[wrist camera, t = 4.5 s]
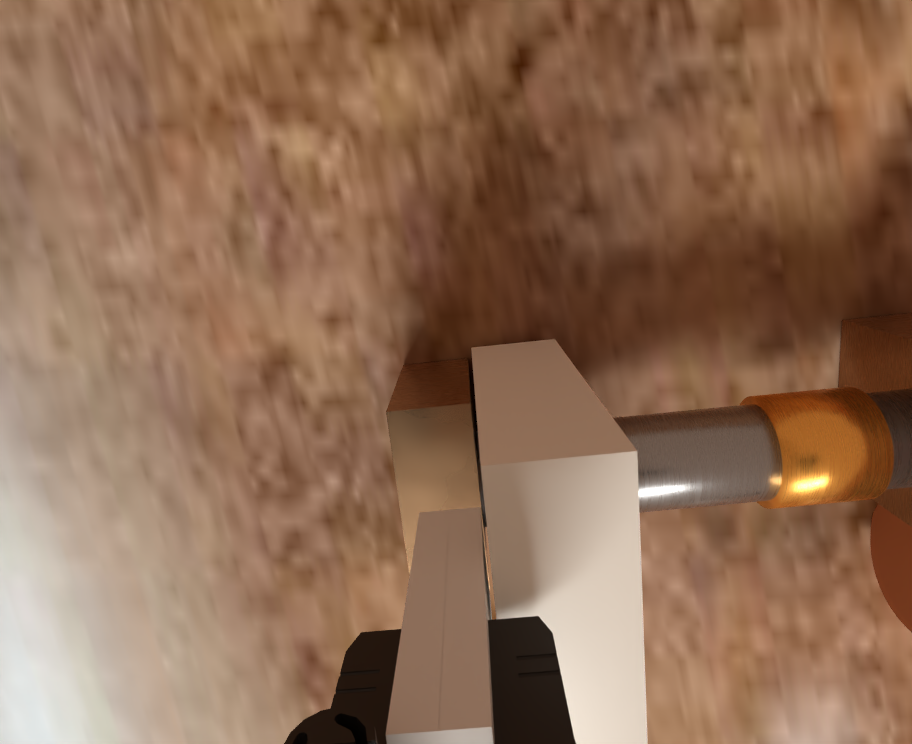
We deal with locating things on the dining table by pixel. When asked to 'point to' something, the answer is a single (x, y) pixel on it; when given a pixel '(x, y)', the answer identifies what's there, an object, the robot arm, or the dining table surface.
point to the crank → (893, 561)
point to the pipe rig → (696, 439)
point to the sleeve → (565, 529)
